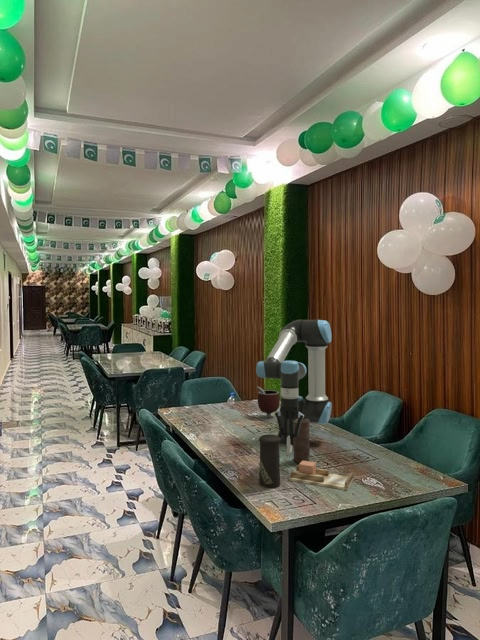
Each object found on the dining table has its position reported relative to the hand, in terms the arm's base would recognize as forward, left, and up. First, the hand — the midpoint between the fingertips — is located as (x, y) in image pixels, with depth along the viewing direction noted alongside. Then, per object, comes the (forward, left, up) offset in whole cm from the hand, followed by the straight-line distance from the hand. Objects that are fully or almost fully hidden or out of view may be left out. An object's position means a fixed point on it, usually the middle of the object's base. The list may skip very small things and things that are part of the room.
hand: (289, 451), depth 198 cm
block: (+8, 0, -9) cm, 12 cm away
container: (-4, -13, -10) cm, 17 cm away
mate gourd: (-43, +83, -10) cm, 94 cm away
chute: (+14, 0, -10) cm, 17 cm away
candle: (0, +17, -10) cm, 20 cm away
